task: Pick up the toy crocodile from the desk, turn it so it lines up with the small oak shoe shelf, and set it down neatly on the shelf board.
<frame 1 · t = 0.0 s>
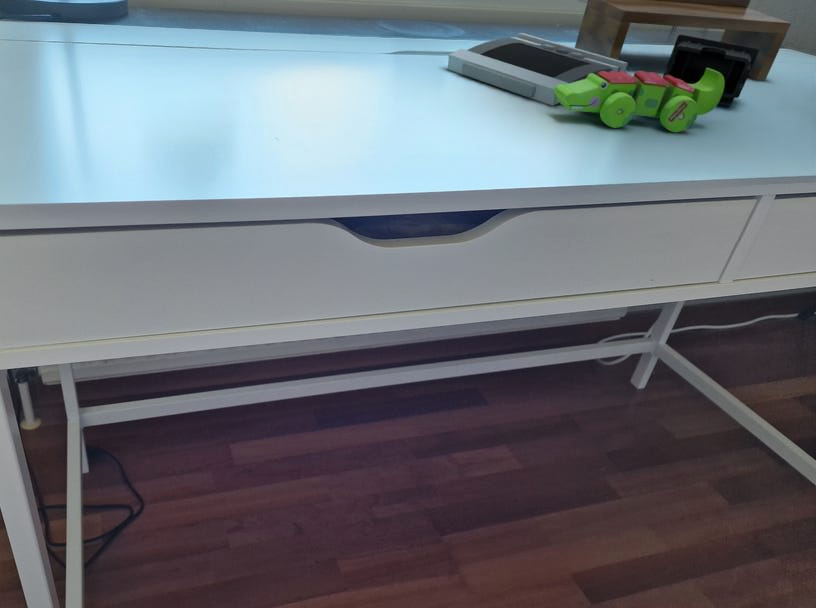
end cap: (695, 97, 91), on the table
alarm clock: (531, 81, 90), on the table
toy crocodile: (629, 122, 79), on the table
shoe shelf: (666, 64, 104), on the table
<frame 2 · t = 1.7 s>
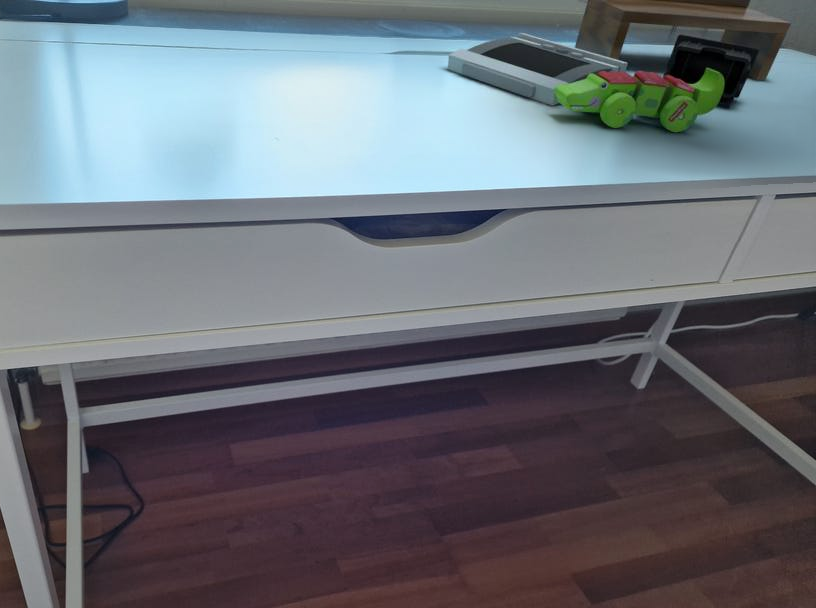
nothing on the table moved.
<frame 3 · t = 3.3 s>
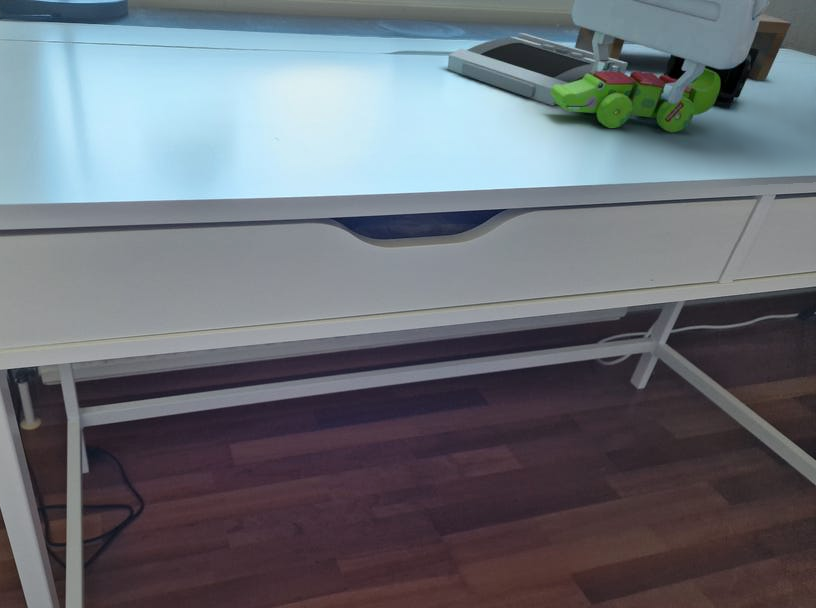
hand: (632, 88, 77), 4 cm above the table, tool pointing down, fingers closed on toy crocodile, 8 cm apart
toy crocodile: (626, 123, 79), on the table, touching gripper
everything else where it was.
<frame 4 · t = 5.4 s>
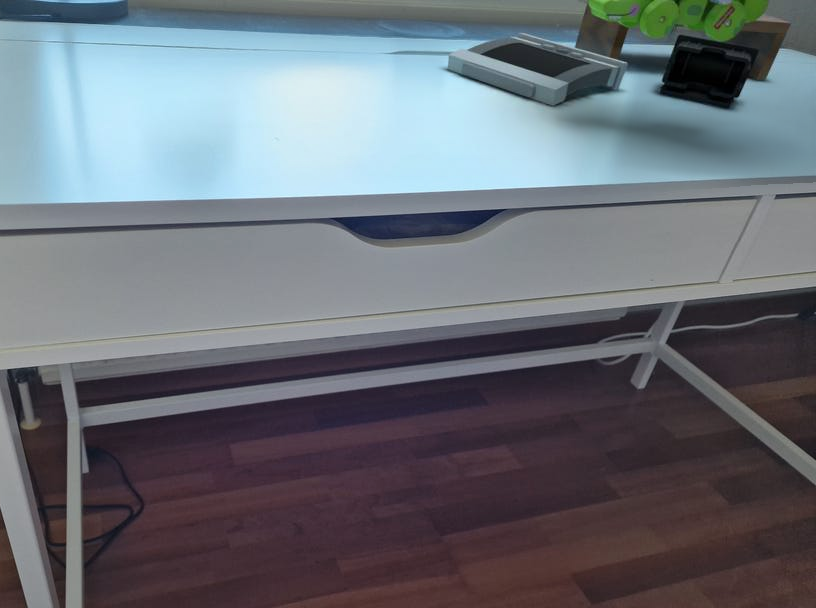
toy crocodile: (670, 35, 73), point 9 cm above the table, touching gripper
everything else where it was.
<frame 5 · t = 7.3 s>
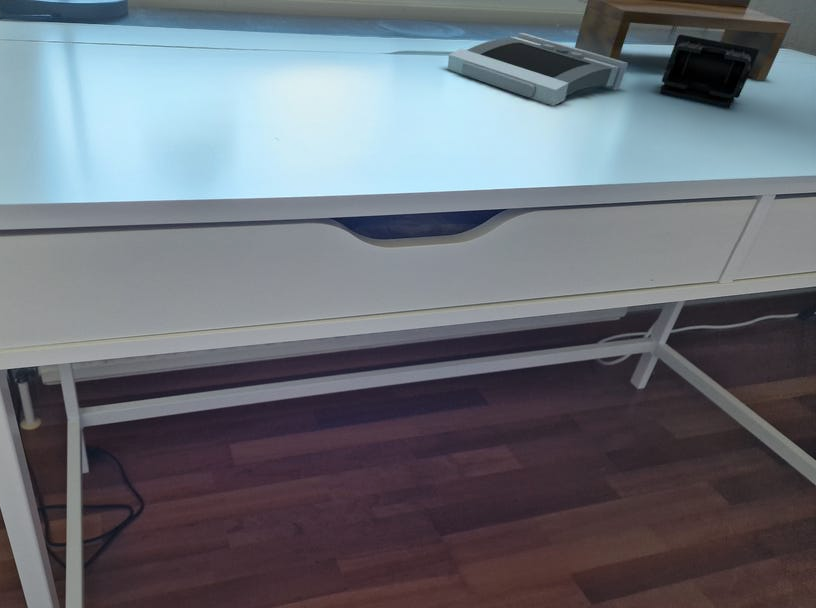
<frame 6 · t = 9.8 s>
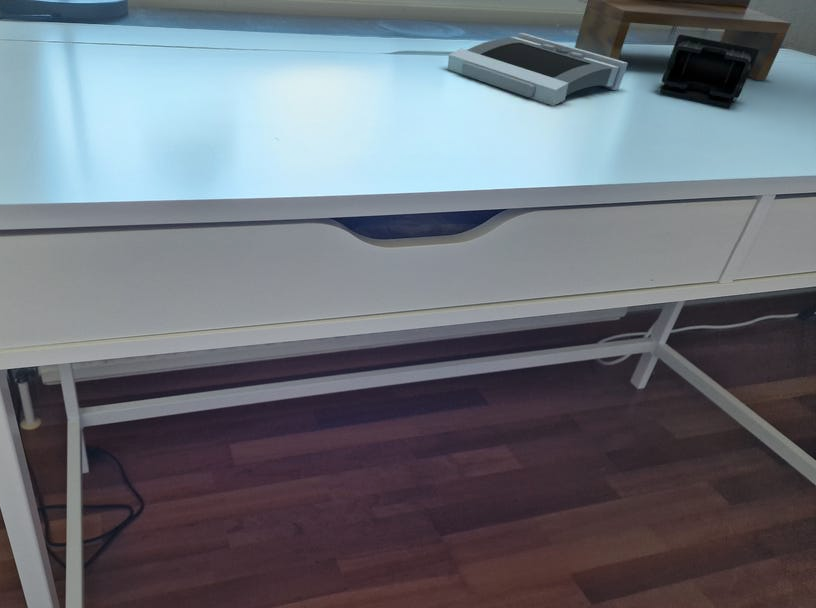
when the fingers open (12 cm above the table, at t = 12.3 s): toy crocodile stays where it is, resting on shoe shelf.
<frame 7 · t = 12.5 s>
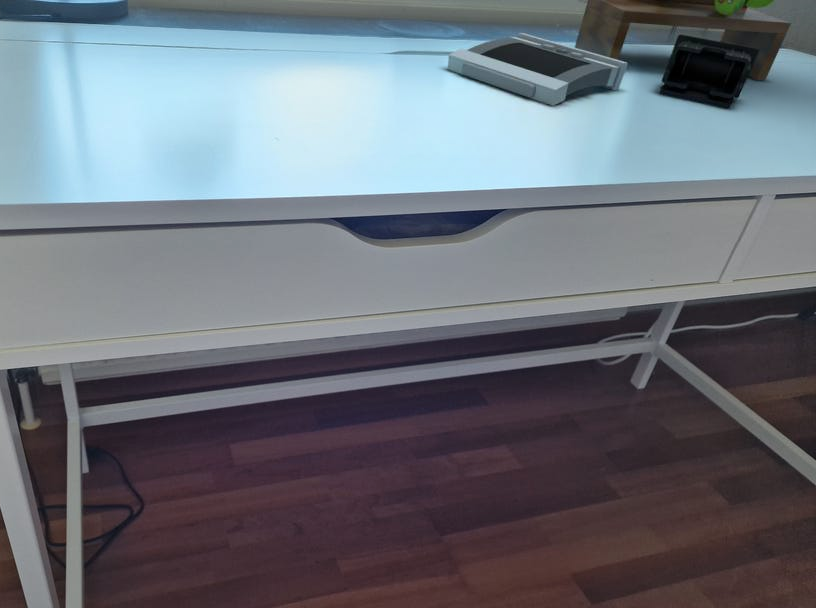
toy crocodile: (693, 2, 99), point 9 cm above the table, touching shoe shelf
everything else where it was.
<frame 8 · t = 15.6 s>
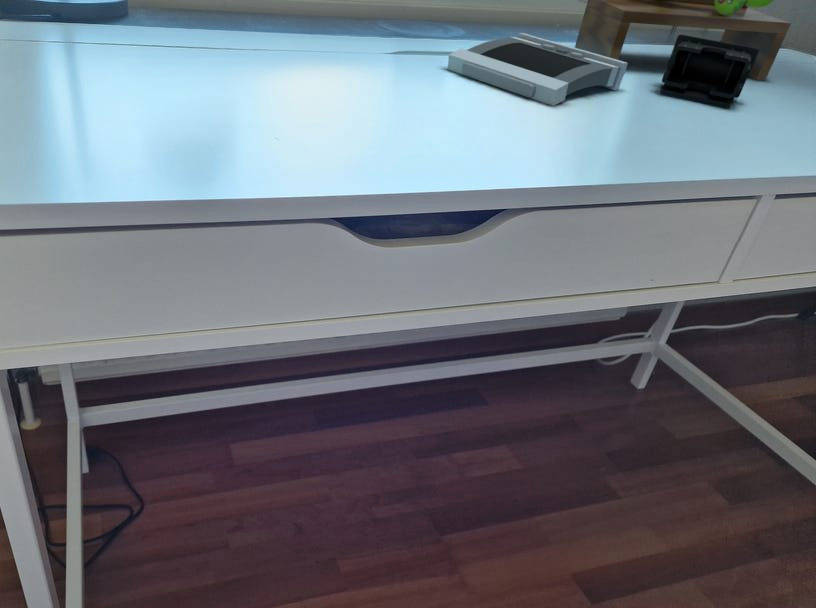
nothing on the table moved.
at the end: toy crocodile inside the target area on the shoe shelf (0.6 cm from its centre), point 8.9 cm above the shoe shelf's base; toy crocodile tilted 9°; the gripper is holding nothing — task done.
